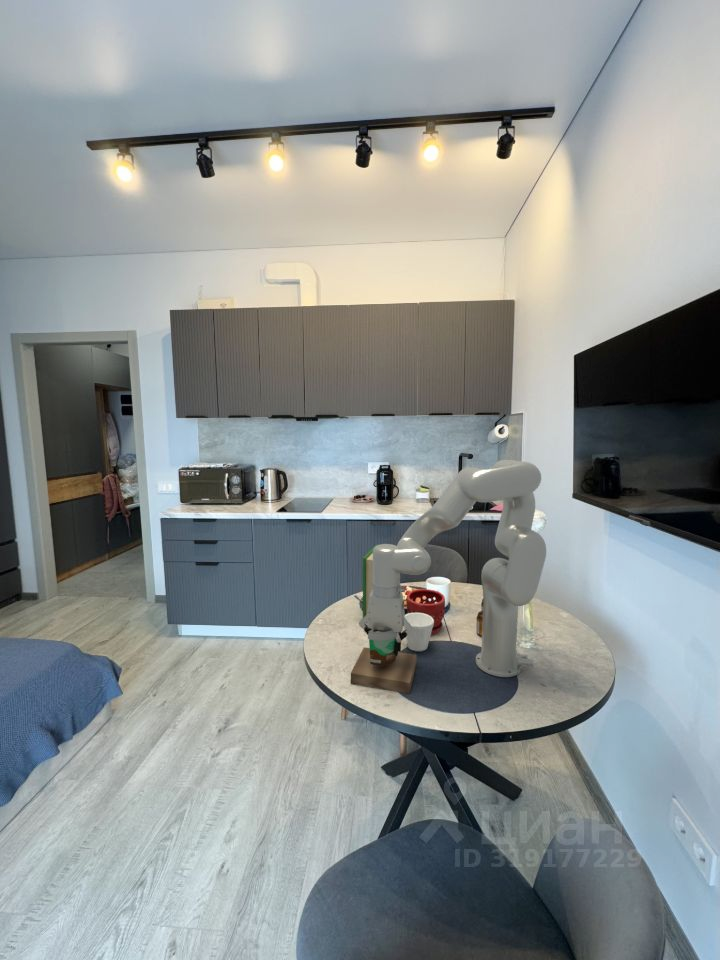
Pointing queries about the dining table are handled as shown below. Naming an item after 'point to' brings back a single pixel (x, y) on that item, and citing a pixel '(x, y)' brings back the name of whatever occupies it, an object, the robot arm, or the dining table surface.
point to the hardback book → (367, 579)
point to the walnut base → (385, 672)
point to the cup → (419, 631)
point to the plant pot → (428, 606)
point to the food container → (382, 647)
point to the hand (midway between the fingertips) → (385, 651)
